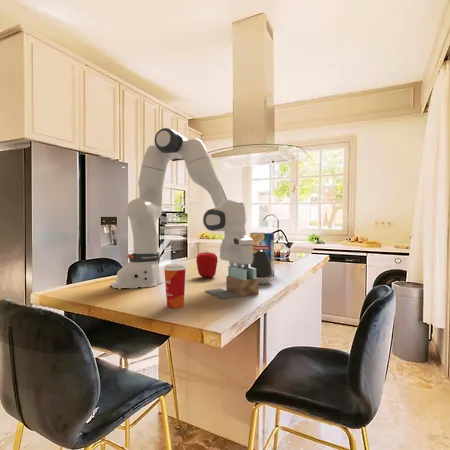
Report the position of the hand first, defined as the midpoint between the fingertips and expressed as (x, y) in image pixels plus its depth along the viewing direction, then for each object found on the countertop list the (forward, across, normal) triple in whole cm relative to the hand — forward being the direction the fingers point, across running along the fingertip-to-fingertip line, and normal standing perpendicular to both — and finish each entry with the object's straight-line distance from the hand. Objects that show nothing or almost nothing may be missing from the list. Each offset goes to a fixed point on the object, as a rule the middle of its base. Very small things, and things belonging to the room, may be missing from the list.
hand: (235, 272), depth 130 cm
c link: (+1, +5, 0) cm, 5 cm away
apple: (+7, -31, +3) cm, 32 cm away
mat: (+7, +3, -8) cm, 11 cm away
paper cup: (+7, +9, -30) cm, 32 cm away
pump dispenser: (+7, -5, +17) cm, 19 cm away
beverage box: (+7, -21, +30) cm, 37 cm away
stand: (+7, +5, 0) cm, 9 cm away
